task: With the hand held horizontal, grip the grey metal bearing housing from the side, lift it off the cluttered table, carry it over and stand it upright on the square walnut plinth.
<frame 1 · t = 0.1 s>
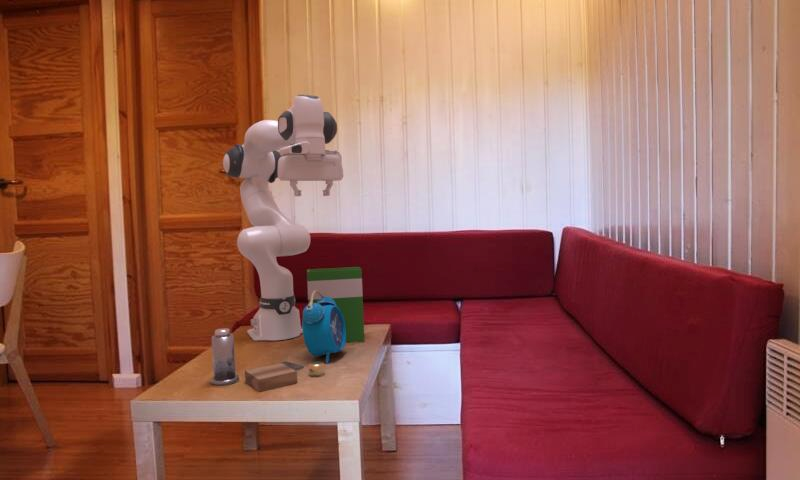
hand: (312, 196, 161), 48 cm above the table, tool pointing down, fingers open, 8 cm apart
hardback book: (337, 341, 180), on the table
steel plate: (286, 370, 150), on the table
brass knob: (316, 374, 144), on the table
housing: (225, 381, 140), on the table
stand: (271, 382, 138), on the table
alarm clock: (326, 357, 160), on the table
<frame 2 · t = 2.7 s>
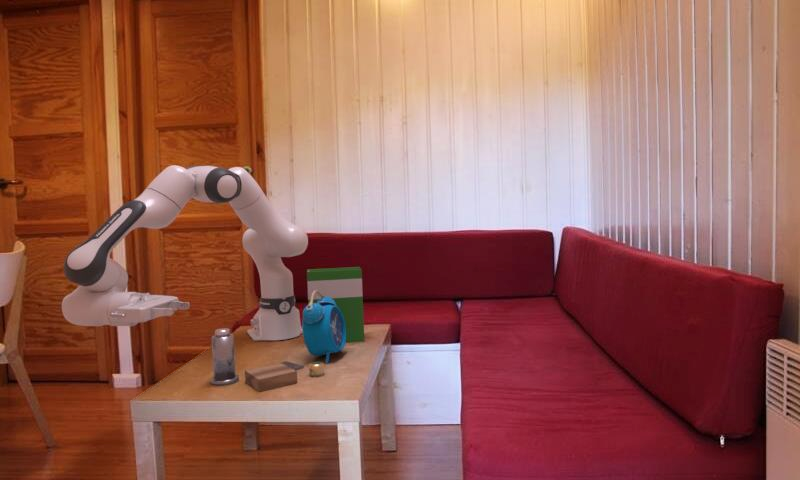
hand: (180, 308, 140), 19 cm above the table, tool horizontal, fingers open, 8 cm apart
nothing on the table moved.
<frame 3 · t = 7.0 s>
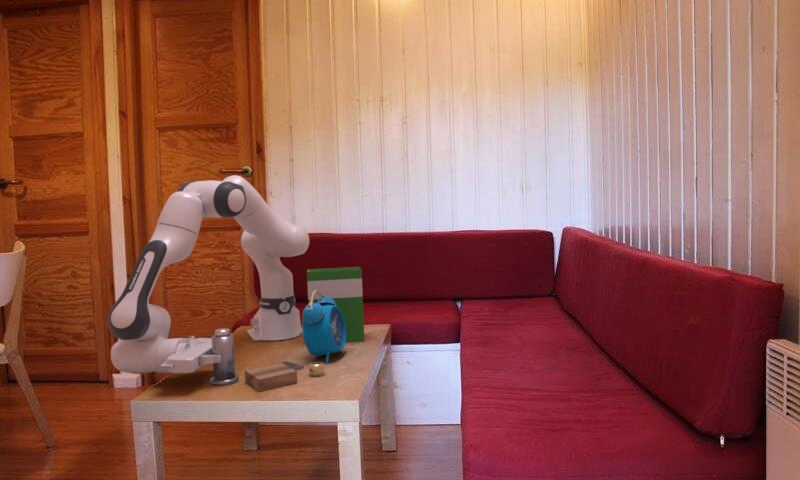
hand: (226, 354, 140), 7 cm above the table, tool horizontal, fingers closed on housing, 5 cm apart
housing: (225, 381, 140), on the table, touching gripper
everything else where it was.
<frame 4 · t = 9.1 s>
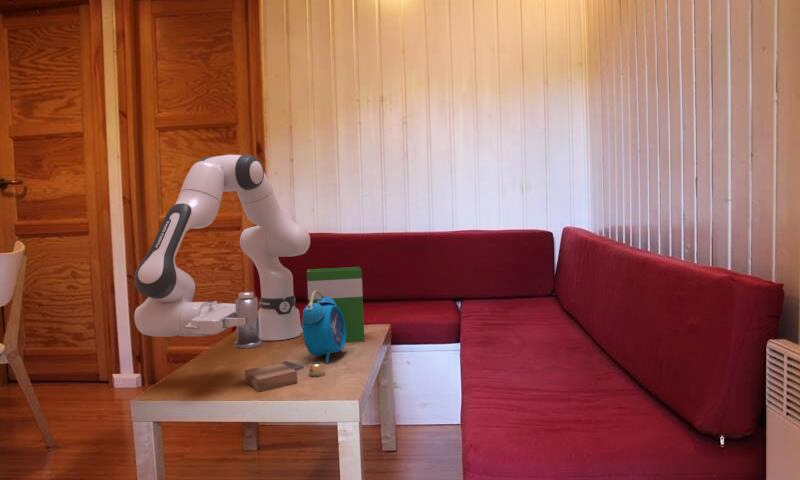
hand: (250, 318, 138), 17 cm above the table, tool horizontal, fingers closed on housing, 5 cm apart
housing: (248, 345, 139), point 10 cm above the table, touching gripper
everything else where it was.
when the fingers open (11 cm above the table, at t = 10.9 s): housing drops 1 cm, resting on stand.
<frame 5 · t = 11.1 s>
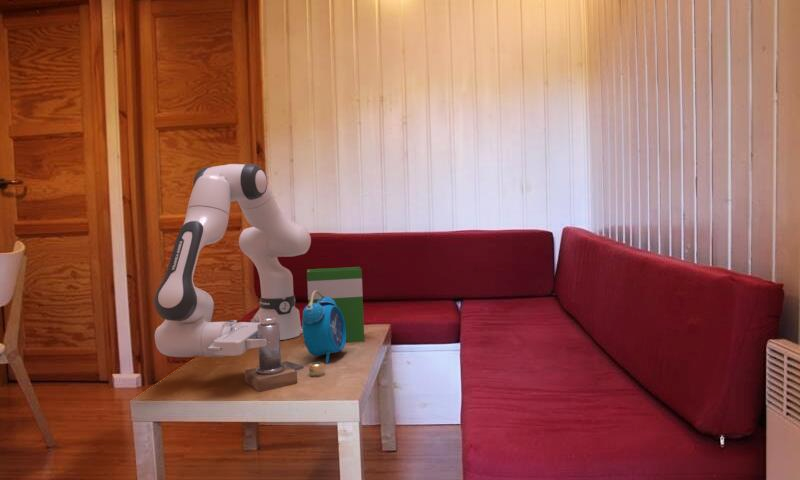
hand: (272, 338, 138), 11 cm above the table, tool horizontal, fingers open, 7 cm apart
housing: (270, 370, 138), point 3 cm above the table, touching stand
everything else where it was.
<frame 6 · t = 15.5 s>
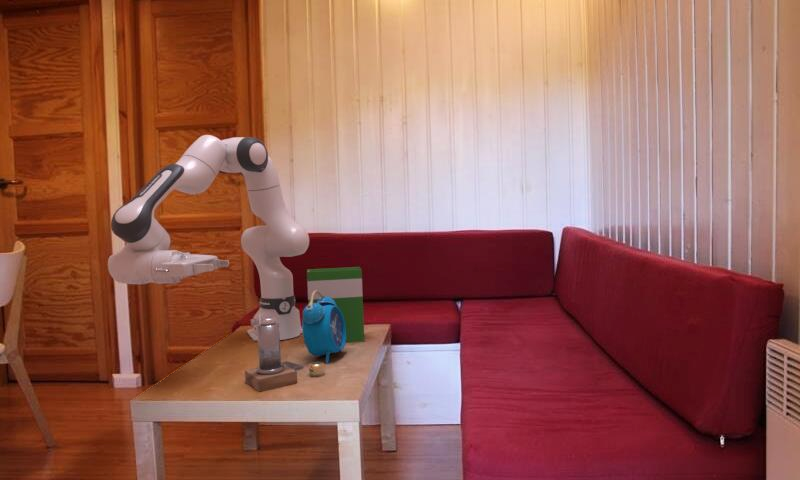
hand: (221, 265, 142), 30 cm above the table, tool horizontal, fingers open, 8 cm apart
nothing on the table moved.
at the end: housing inside the target area on the stand (0.1 cm from its centre), point 3.0 cm above the stand's base; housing tilted 0°; the gripper is holding nothing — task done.
